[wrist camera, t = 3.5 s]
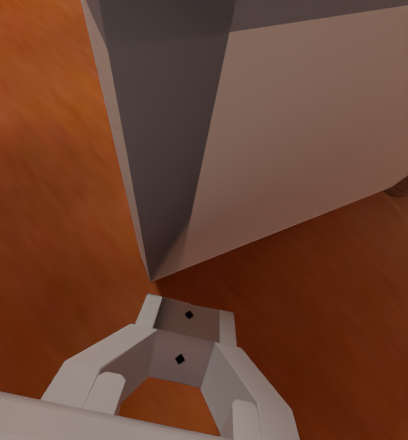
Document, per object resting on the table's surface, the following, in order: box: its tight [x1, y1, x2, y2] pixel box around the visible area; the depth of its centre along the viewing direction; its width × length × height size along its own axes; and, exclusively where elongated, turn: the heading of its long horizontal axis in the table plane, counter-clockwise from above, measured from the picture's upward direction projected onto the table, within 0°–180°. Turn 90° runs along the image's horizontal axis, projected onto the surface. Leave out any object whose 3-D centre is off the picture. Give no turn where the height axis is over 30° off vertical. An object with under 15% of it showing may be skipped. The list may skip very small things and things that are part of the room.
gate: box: [81, 0, 408, 282], centre depth 11 cm, size 17×2×14 cm, turn 114°
